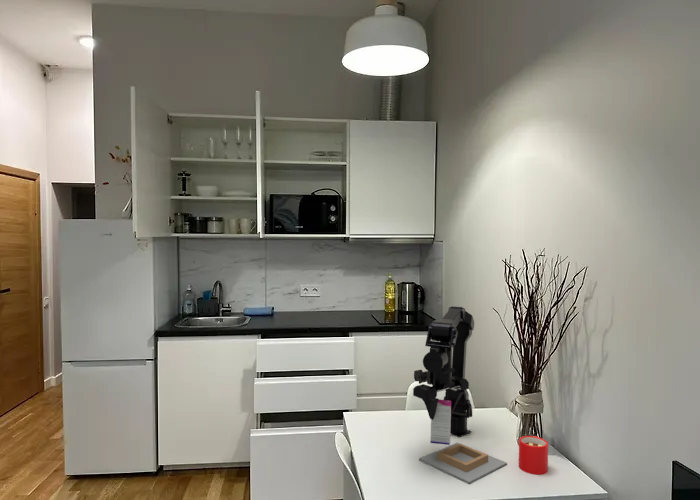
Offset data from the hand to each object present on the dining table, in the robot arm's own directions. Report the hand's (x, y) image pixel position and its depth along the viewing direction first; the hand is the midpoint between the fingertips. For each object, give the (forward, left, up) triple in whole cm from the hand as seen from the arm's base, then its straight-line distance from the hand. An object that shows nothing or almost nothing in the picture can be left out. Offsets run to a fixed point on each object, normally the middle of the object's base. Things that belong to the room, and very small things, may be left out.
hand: (441, 416), depth 145 cm
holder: (-3, +6, -13) cm, 14 cm away
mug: (-18, +20, -13) cm, 30 cm away
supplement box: (0, 0, -8) cm, 8 cm away
